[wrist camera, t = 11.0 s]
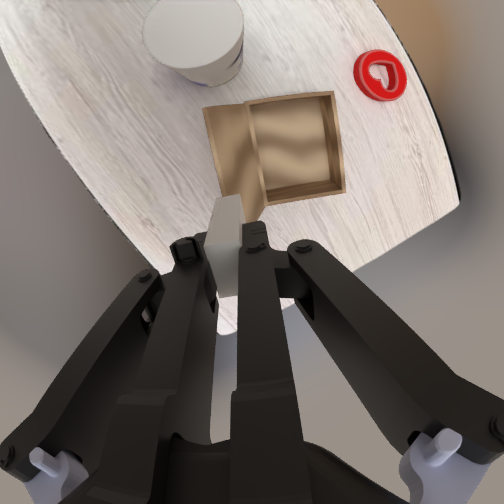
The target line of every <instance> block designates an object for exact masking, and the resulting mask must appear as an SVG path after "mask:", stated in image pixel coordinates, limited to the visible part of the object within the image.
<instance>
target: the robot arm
mask: <svg viewBox="0 0 504 504" xmlns="http://www.w3.org/2000/svg"><path fill="white" fill-rule="evenodd" d="M170 250H171V253H172V256H173V258H174V261H175V265H174V268H173V270H172V272H169V273H167V274H164V275H161V276H160V274H159V271H158V270H157V269H145V270H143V271H141V272H140V273H138V274H137V275H136V276H134V277H133V278H132V280H131V281H130V282H129V283H128V284H127V285H126V287H125V288H124V289H123V290H122V291H121V293H120V294H119V295H118V296H117V297H116V299H115V300H114V301H113V302H112V304H111V305H110V306H109V307H108V308H107V310H106V311H105V312H104V313H103V315H102V316H101V317H100V318H99V320H98V321H97V322H96V323H95V325H94V326H93V327H92V329H91V330H90V331H89V332H88V334H87V335H86V336H85V338H84V339H83V340H82V342H81V343H80V344H79V346H78V347H77V348H76V350H75V351H74V352H73V354H72V355H71V357H70V358H69V359H68V361H67V362H66V364H65V365H64V366H63V368H62V369H61V371H60V372H59V374H58V375H57V376H56V378H55V379H54V381H53V382H52V383H51V385H50V386H49V388H48V389H47V391H46V393H45V394H44V396H43V397H42V399H41V400H40V402H39V403H38V405H37V406H36V408H35V409H34V411H33V413H32V414H30V415H29V417H27V418H26V419H25V420H24V421H23V422H22V423H21V424H20V425H19V426H18V427H17V428H16V429H15V430H14V431H13V432H12V433H11V434H10V435H9V436H8V437H7V438H6V439H5V440H4V441H3V442H2V443H1V445H0V467H1V468H2V469H3V470H4V471H6V472H7V473H9V474H11V475H12V476H14V477H15V478H17V479H19V480H20V481H22V482H23V483H24V485H25V487H26V489H27V491H28V492H29V494H30V496H31V498H32V500H33V501H34V503H35V504H466V503H467V502H468V500H469V499H470V497H471V496H472V494H473V493H474V491H475V490H476V488H477V486H478V485H479V483H480V481H481V480H482V478H483V476H484V475H485V473H486V471H487V469H488V468H489V466H490V465H491V463H493V461H495V460H496V459H497V458H499V457H500V456H501V455H502V454H504V400H503V399H501V398H499V397H497V396H495V395H493V394H492V393H489V392H488V391H486V390H484V389H482V388H480V387H478V386H476V385H475V384H473V383H471V382H469V381H467V380H465V379H463V378H461V377H460V376H458V375H456V374H455V373H454V372H453V371H452V370H451V369H450V368H449V367H448V366H447V364H445V362H444V361H443V360H442V359H441V358H440V357H439V356H438V355H437V354H436V353H435V352H434V351H433V350H432V349H431V348H430V347H429V346H428V345H427V344H426V343H425V342H424V341H423V340H422V339H421V338H420V337H419V336H418V335H417V334H416V333H415V332H414V331H413V330H412V329H411V328H410V327H409V326H408V325H407V324H406V323H405V322H404V321H403V320H402V319H401V318H400V317H399V316H398V315H397V314H396V313H395V312H394V311H393V310H392V309H390V307H388V306H387V305H386V304H385V303H384V302H383V301H382V300H381V299H380V298H379V297H378V296H376V294H375V293H373V292H372V291H371V290H370V289H369V288H368V287H367V286H366V285H365V284H364V283H363V282H362V281H360V280H359V279H358V278H357V277H356V276H355V275H354V274H353V273H352V272H351V271H350V270H348V269H347V268H346V267H345V266H344V265H343V264H342V263H341V262H339V261H338V260H337V259H336V258H335V257H334V256H333V255H332V254H330V253H329V252H328V251H327V250H326V249H325V248H324V247H322V246H321V245H320V244H319V243H318V242H316V241H313V240H309V239H302V240H299V241H296V242H293V243H291V244H290V245H289V246H288V248H287V251H278V250H274V249H272V248H271V247H270V245H269V241H268V236H267V231H266V226H265V223H264V222H262V221H261V220H260V221H255V222H249V223H246V220H245V215H244V210H243V206H242V201H241V197H240V194H235V195H230V196H226V197H221V198H216V202H215V205H214V209H213V213H212V216H211V220H210V224H209V228H208V231H207V232H202V233H197V234H196V235H195V236H194V237H192V236H191V237H185V238H181V239H179V240H177V241H175V242H174V243H172V244H171V245H170ZM217 291H218V295H219V298H224V297H230V296H236V295H238V318H237V389H236V391H233V392H232V395H231V420H230V421H231V422H230V427H231V428H230V439H229V440H225V441H221V442H218V443H214V444H212V443H211V440H210V416H211V400H212V384H213V370H214V357H215V345H216V332H217V320H218V309H219V303H218V300H217V297H216V292H217ZM280 298H294V301H295V304H296V305H297V307H298V308H299V310H300V311H301V313H302V314H303V316H304V317H305V319H306V320H307V322H308V323H309V325H310V326H311V328H312V329H313V331H314V332H315V333H316V335H317V336H318V338H319V339H320V341H321V342H322V344H323V345H324V347H325V348H326V349H327V351H328V353H329V354H330V356H331V357H332V359H333V360H334V362H335V363H336V365H337V366H338V368H339V369H340V370H341V372H342V373H343V375H344V376H345V378H346V379H347V381H348V382H349V384H350V385H351V387H352V388H353V390H354V391H355V393H356V394H357V396H358V397H359V399H360V400H361V402H362V403H363V405H364V406H365V408H366V409H367V411H368V412H369V414H370V415H371V417H372V418H373V420H374V421H375V423H376V424H377V426H378V427H379V429H380V430H381V432H382V433H383V435H384V436H385V437H386V439H387V440H388V441H389V442H390V444H391V445H392V446H393V447H394V448H395V449H396V450H397V451H398V452H399V453H400V454H401V455H403V457H402V458H401V461H400V464H399V473H400V477H401V478H402V480H403V481H404V482H405V483H406V485H407V486H408V488H409V490H410V502H409V503H408V502H406V501H405V500H403V499H401V498H399V497H398V496H396V495H394V494H393V493H391V492H389V491H388V490H386V489H384V488H383V487H381V486H380V485H378V484H377V483H375V482H373V481H372V480H370V479H369V478H367V477H366V476H364V475H363V474H361V473H360V472H358V471H357V470H356V469H354V468H353V467H351V466H350V465H348V464H347V463H345V462H344V461H343V460H341V459H340V458H338V457H337V456H336V455H335V454H333V453H332V452H330V451H328V450H326V449H324V448H323V447H320V446H318V445H316V444H313V443H309V442H306V441H304V440H303V433H302V427H301V421H300V414H299V408H298V402H297V396H296V390H295V384H294V379H293V373H292V367H291V361H290V355H289V350H288V344H287V338H286V332H285V326H284V321H283V315H282V310H281V304H280ZM144 310H145V311H146V313H147V315H148V319H147V320H146V321H145V320H144V319H143V317H142V315H141V314H142V312H143V311H144Z"/></svg>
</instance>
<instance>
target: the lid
mask: <svg viewBox="0 0 504 504" xmlns="http://www.w3.org/2000/svg"><path fill="white" fill-rule="evenodd" d="M202 110H203V114H204V119H205V123H206V128H207V132H208V137H209V141H210V145H211V150H212V154H213V158H214V162H215V167H216V171H217V175H218V180H219V184H220V188H221V192H222V196H223V197H226V196H230V195H235V194H240V197H241V201H242V206H243V210H244V215H245V220H246V223H249V222H255V221H257V220H258V218H259V217H260V215H261V213H262V212H263V210H264V208H265V206H264V200H263V195H262V189H261V184H260V179H259V174H258V169H257V163H256V158H255V153H254V148H253V143H252V138H251V133H250V128H249V123H248V118H247V113H246V108H245V104H232V105H221V106H212V107H205V108H202Z"/></svg>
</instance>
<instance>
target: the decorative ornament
mask: <svg viewBox="0 0 504 504" xmlns="http://www.w3.org/2000/svg"><path fill="white" fill-rule="evenodd" d="M372 64H379V65H384V66H386V69H387V72H388V77H389V86H388V88H387V89H385V88H384V87H383V85H382V83H381V79H375V78H374V77H372V76H371V74H370V72H369V68H370V66H371V65H372ZM353 73H354V79H355V82H356V84H357V85H358V87H359V88H360V90H361V91H362V92H363V93H364V94H365V95H366V96H368V97H370V98H371V99H374V100H377V101H393V100H396V99H398V98H399V97H400V96H401V95H402V94H403V93H404V91H405V89H406V85H407V76H406V72H405V69H404V67H403V65H402V64H401V62H400V61H399V60H398V58H396V57H395V56H394V55H393V54H391V53H389V52H387V51H384V50H371V51H368V52H366V53H363V54H362V55H360V56H359V57H358V59H357V60H356V62H355V64H354V70H353Z"/></svg>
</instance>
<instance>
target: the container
mask: <svg viewBox="0 0 504 504" xmlns="http://www.w3.org/2000/svg"><path fill="white" fill-rule="evenodd" d="M243 28H244V18H243V12H242V9H241V7H240V5H239V4H238V2H237V1H236V0H159V1H158V2H157V3H156V4H155V5H154V6H153V7H152V9H151V10H150V11H149V13H148V15H147V16H146V19H145V21H144V24H143V29H142V38H143V43H144V46H145V48H146V50H147V51H148V53H149V54H150V55H151V56H152V57H153V58H154V59H155V60H157V61H158V62H160V63H162V64H164V65H165V66H167V67H169V68H171V69H172V70H174V71H176V72H177V73H179V74H181V75H182V76H184V77H186V78H187V79H189V80H191V81H192V82H194V83H196V84H198V85H202V86H209V87H211V86H218V85H222V84H224V83H226V82H228V81H230V80H231V79H232V78H234V77H235V76H236V74H237V73H238V72H239V70H240V68H241V66H242V62H243Z"/></svg>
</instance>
